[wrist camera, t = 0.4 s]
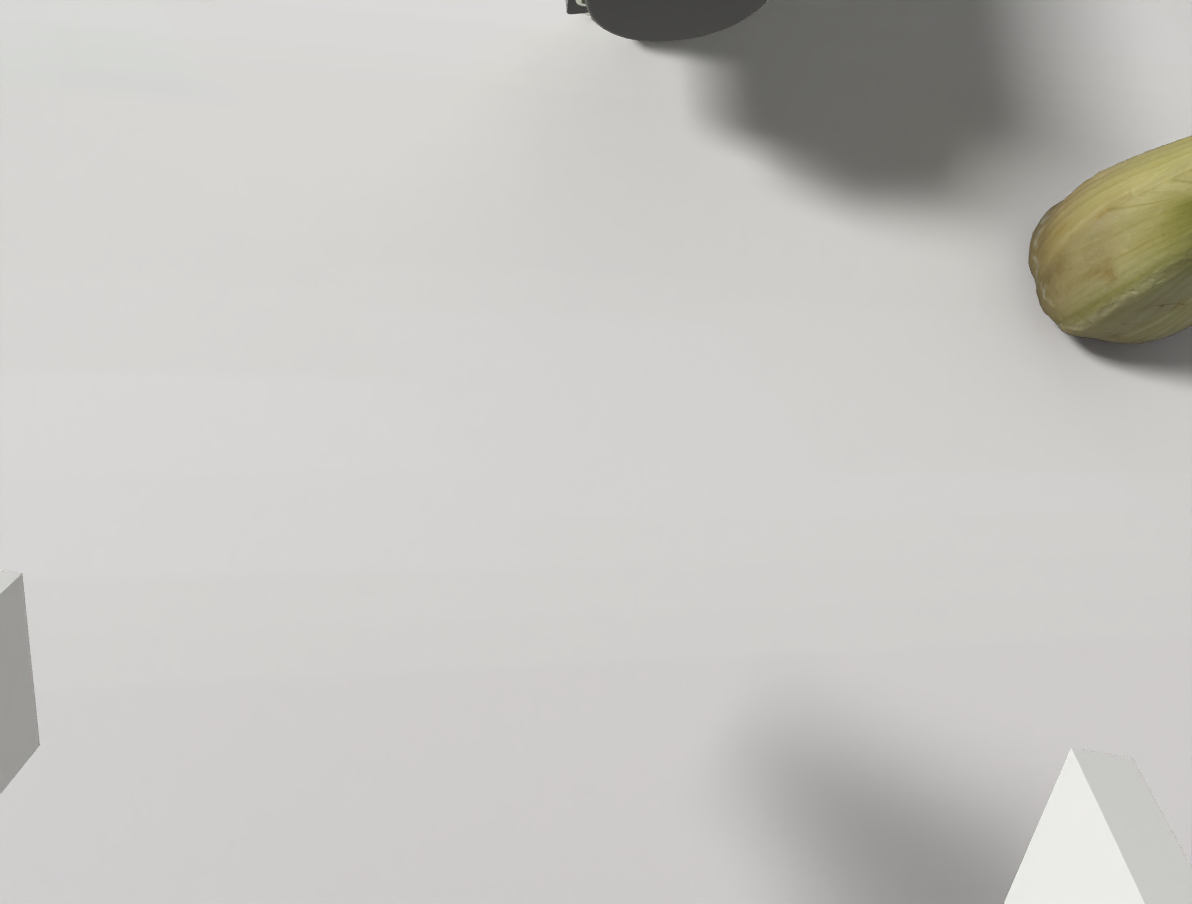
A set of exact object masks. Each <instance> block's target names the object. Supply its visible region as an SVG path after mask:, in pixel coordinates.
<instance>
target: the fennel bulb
mask: <svg viewBox="0 0 1192 904" xmlns="http://www.w3.org/2000/svg"><path fill="white" fill-rule="evenodd" d="M1029 266H1030V270H1031V273H1032V275H1033V277H1034V279H1035V282H1036V292H1037V295H1038V298H1039V302H1040V305H1041V307H1042V309H1043V311H1044V312H1045V314H1047V315H1048V316H1049V317H1050V318H1051V319H1052V320H1053V321H1054V322H1055V323H1056V324H1057V325H1058V327H1059V328H1060V329H1061V330H1062V331H1063V332H1065V333H1067V334H1070V335H1074V336H1078V337H1086V338H1096V339H1101V340H1103V341H1108V342H1116V343H1144V342H1149V341H1154V340H1158V339H1161V338H1164V337H1168V336H1171V335H1173V334H1175V333H1177V332H1180V331H1182V330H1184V329H1186V328H1188V327H1189V326H1192V136H1189V137H1186V138H1183V139H1180V140H1177V141H1175V142H1172V143H1170V144H1166V145H1163V146H1160V147H1158V148H1155V149H1153V150H1150V151H1147V152H1145V153H1143V154H1140V155H1138V156H1134V157H1132V158H1130V159H1127V160H1125V161H1123V162H1120V163H1118V164H1116V165H1114V166H1112V167H1110V168H1107V169H1105V170H1103V171H1100V172H1099V173H1097V174H1096V175H1095V176H1093V177H1092V178H1090V179H1088V180H1087V181H1085V182H1083V183H1082V184H1081V185H1080V186H1079V187H1078V188H1076V189H1075V190H1074V191H1073V192H1072V193H1071V194H1070V195H1069V196H1068V197H1066V198H1065V200H1063V201H1061V202H1060V203H1058V204H1056V205H1055V206H1053V207H1052V208H1050V209H1049V210H1048V211H1047V212H1046V214H1045V215H1044V216H1043V217H1042V219H1041V220H1040V222H1039V224H1038V226H1037V227H1036V229H1035V230H1034V232H1033V235H1032V239H1031V243H1030V250H1029Z"/></svg>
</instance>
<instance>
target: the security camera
mask: <svg viewBox="0 0 1192 904" xmlns="http://www.w3.org/2000/svg"><path fill="white" fill-rule="evenodd" d="M766 1H767V0H566V8H567V13H568V14H579V13H585V14H586V15H588V16H591V17H592V19H593V20H594V21H595V22H596V23H597V24H598V25H599V26H601V27H602V28H603V29H605V30H607V31H608V32H610V33H613V34H615V35H617V36H620V37H624V38H627V39H632V40H638V41H648V42H670V41H680V40H686V39H692V38H696V37H701V36H705V35H708V34H711V33H714V32H718V31H720V30H723V29H725V28H728V27H730V26H732V25H734V24H736V23H738V22H740V21H742V20H744V19H745V18H747V17H748V16H750V15H751V14H753V13H754V12H756V11H757V10H758V9H759V8H760V7H761V6H762V5H763V4H765V3H766Z"/></svg>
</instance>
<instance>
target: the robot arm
mask: <svg viewBox="0 0 1192 904" xmlns="http://www.w3.org/2000/svg"><path fill="white" fill-rule="evenodd" d="M39 745H40V742H39V733H38V723H37V713H36V703H35V694H34V684H33V674H32V664H31V654H30V645H29V635H28V625H27V615H26V606H25V596H24V586H23V576H22V573H18V572H12V571H6V570H0V794H1V793H2V791H3V790H4V789H5V788H6V786H7V785H8V784H9V783H10V781H11V780H12V779H13V778H14V776H15V775H16V774H17V773H18V771H19V770H20V769H21V768H22V767H23V765H24V764H25V763H26V762H27V760H28V759H29V758H30V757H31V755H32V754H33V753H34V752H35V750H36V749H37V748H38V747H39ZM1004 904H1192V866H1191V864H1190V862H1189V861H1188V859H1187V857H1186V855H1185V853H1184V851H1183V850H1182V848H1181V846H1180V844H1179V842H1178V840H1177V838H1176V837H1175V835H1174V833H1173V831H1172V829H1171V827H1170V825H1169V824H1168V822H1167V820H1166V818H1165V816H1164V814H1163V813H1162V811H1161V809H1160V807H1159V805H1158V803H1157V801H1156V800H1155V798H1154V796H1153V794H1152V792H1151V790H1150V789H1149V787H1148V785H1147V783H1146V781H1145V779H1144V777H1143V776H1142V774H1141V772H1140V770H1139V768H1138V766H1137V765H1136V763H1135V761H1134V759H1133V758H1130V757H1124V756H1118V755H1112V754H1106V753H1100V752H1094V751H1088V750H1082V749H1076V748H1071V750H1070V752H1069V754H1068V757H1067V759H1066V761H1065V764H1064V766H1063V768H1062V770H1061V773H1060V775H1059V777H1058V780H1057V782H1056V784H1055V787H1054V789H1053V791H1052V794H1051V796H1050V798H1049V800H1048V803H1047V805H1046V807H1045V810H1044V812H1043V814H1042V817H1041V819H1040V821H1039V824H1038V826H1037V828H1036V830H1035V833H1034V835H1033V837H1032V840H1031V842H1030V844H1029V847H1028V849H1027V851H1026V854H1025V856H1024V858H1023V860H1022V863H1021V865H1020V867H1019V870H1018V872H1017V874H1016V877H1015V879H1014V881H1013V884H1012V886H1011V888H1010V890H1009V893H1008V895H1007V897H1006V900H1005V902H1004Z"/></svg>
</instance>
